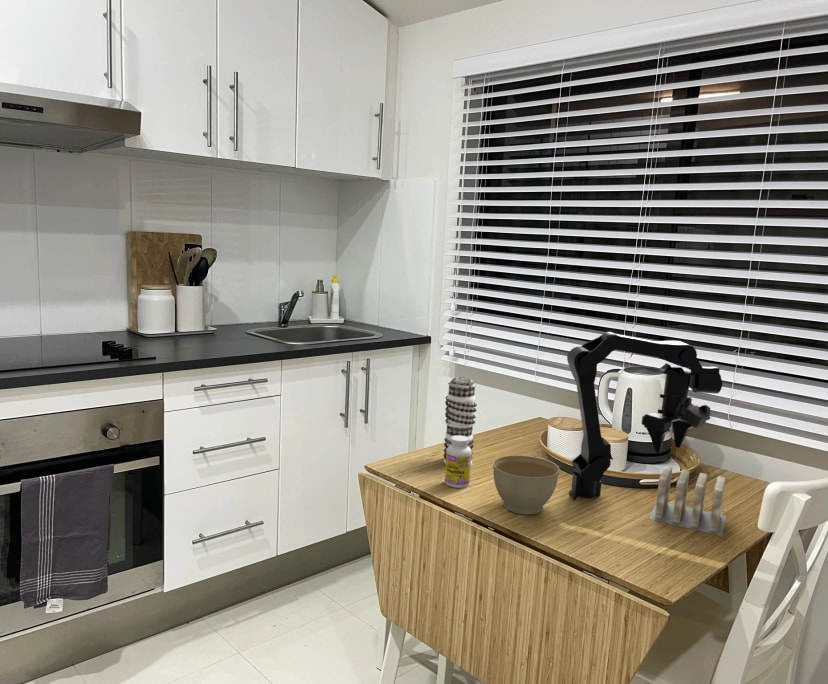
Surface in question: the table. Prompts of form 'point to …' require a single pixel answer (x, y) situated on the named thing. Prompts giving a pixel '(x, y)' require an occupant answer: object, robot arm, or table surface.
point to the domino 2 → (681, 496)
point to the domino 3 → (699, 500)
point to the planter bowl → (525, 482)
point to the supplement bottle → (458, 462)
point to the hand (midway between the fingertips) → (668, 450)
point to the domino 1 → (663, 492)
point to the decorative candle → (460, 411)
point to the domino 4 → (717, 504)
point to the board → (687, 518)
